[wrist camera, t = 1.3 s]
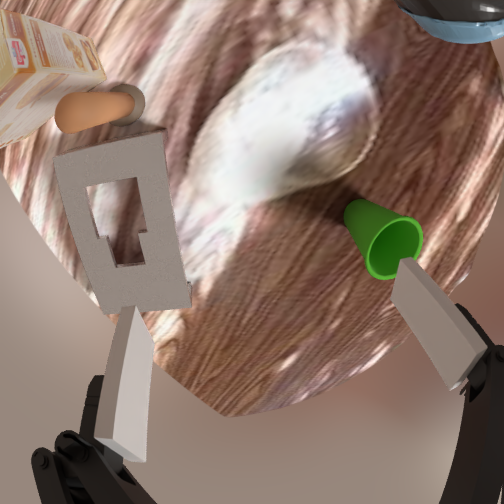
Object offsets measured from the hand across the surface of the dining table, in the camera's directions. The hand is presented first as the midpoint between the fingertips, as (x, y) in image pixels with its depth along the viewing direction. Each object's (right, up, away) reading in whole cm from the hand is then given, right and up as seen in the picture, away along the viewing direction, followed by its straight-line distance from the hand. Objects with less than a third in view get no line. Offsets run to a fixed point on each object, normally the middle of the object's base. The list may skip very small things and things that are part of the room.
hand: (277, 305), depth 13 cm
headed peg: (-17, +20, +15) cm, 30 cm away
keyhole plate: (-18, +6, +23) cm, 30 cm away
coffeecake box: (-27, +23, +11) cm, 37 cm away
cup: (+15, +8, +28) cm, 33 cm away
